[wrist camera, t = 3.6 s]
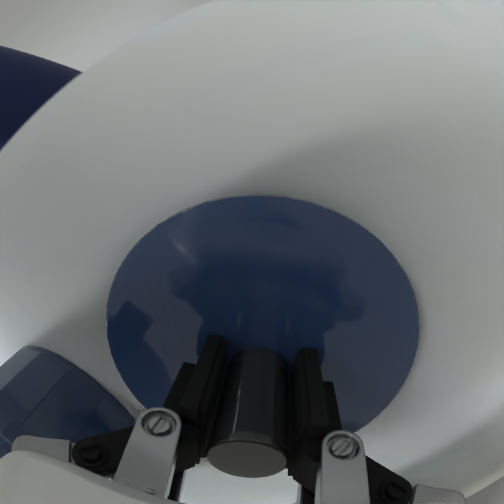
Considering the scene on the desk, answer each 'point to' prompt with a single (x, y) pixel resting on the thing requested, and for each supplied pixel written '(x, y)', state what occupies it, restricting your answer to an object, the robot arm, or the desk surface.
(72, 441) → the pot
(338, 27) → the desk surface
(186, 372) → the robot arm
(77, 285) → the desk surface
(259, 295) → the lid
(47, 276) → the desk surface
